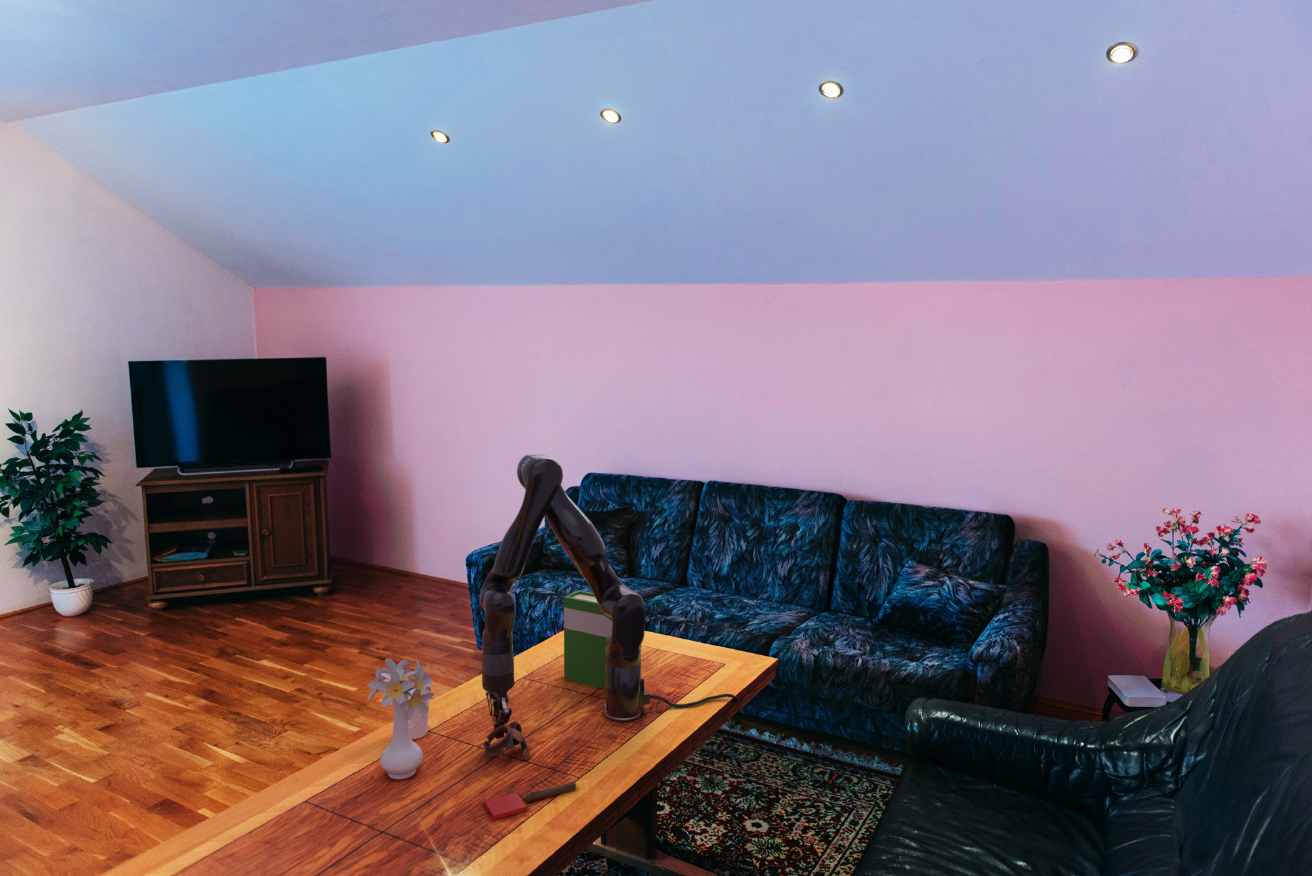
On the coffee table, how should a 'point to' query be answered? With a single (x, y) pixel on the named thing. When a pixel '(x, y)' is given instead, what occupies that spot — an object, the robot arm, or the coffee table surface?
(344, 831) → the coffee table surface
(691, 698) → the coffee table surface
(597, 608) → the hardback book
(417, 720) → the white cup
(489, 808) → the spatula
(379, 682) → the flower vase
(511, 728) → the dark brown curved piece
